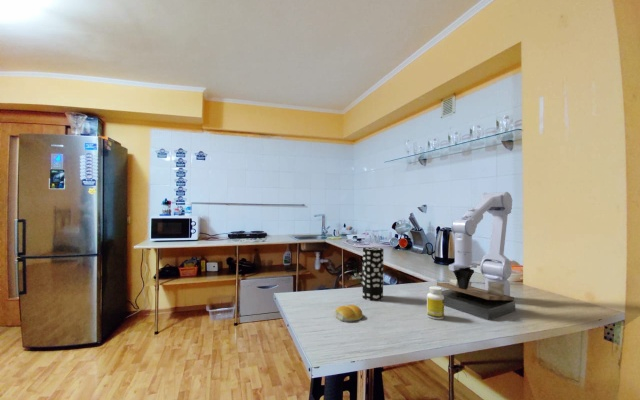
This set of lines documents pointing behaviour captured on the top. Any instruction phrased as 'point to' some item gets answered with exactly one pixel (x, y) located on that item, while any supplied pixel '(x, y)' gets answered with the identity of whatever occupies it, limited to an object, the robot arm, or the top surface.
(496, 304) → the base
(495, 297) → the plate
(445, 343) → the top surface
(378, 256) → the spotted tube
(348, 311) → the bread roll
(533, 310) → the top surface
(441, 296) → the supplement bottle
